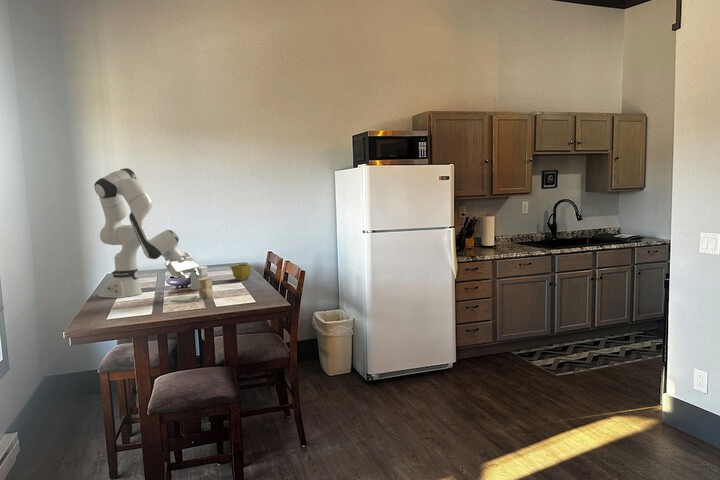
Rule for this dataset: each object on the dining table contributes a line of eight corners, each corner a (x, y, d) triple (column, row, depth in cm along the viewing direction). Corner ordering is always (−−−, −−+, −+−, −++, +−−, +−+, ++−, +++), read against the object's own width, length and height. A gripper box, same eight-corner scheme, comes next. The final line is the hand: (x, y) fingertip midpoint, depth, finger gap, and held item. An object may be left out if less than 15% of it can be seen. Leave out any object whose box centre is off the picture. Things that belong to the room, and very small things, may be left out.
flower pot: (252, 278, 337) (251, 264, 336) (242, 281, 330) (241, 266, 329) (242, 277, 342) (241, 263, 341) (231, 280, 335) (230, 266, 334)
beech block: (199, 298, 286) (197, 279, 285) (204, 296, 291) (203, 277, 290) (207, 298, 285) (206, 279, 284) (212, 296, 290) (211, 278, 289)
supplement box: (202, 290, 308) (201, 268, 307) (190, 289, 310) (189, 268, 308) (208, 287, 315) (207, 265, 314) (197, 287, 317) (195, 266, 315)
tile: (171, 302, 280) (170, 300, 280) (179, 297, 289) (179, 295, 289) (189, 301, 278) (189, 300, 278) (197, 297, 288) (197, 295, 288)
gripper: (166, 257, 278) (183, 276, 276) (191, 252, 298) (207, 270, 295) (159, 266, 280) (176, 285, 278) (184, 260, 299) (200, 278, 297)
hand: (192, 277), depth 287 cm, fingers open, 8 cm apart
